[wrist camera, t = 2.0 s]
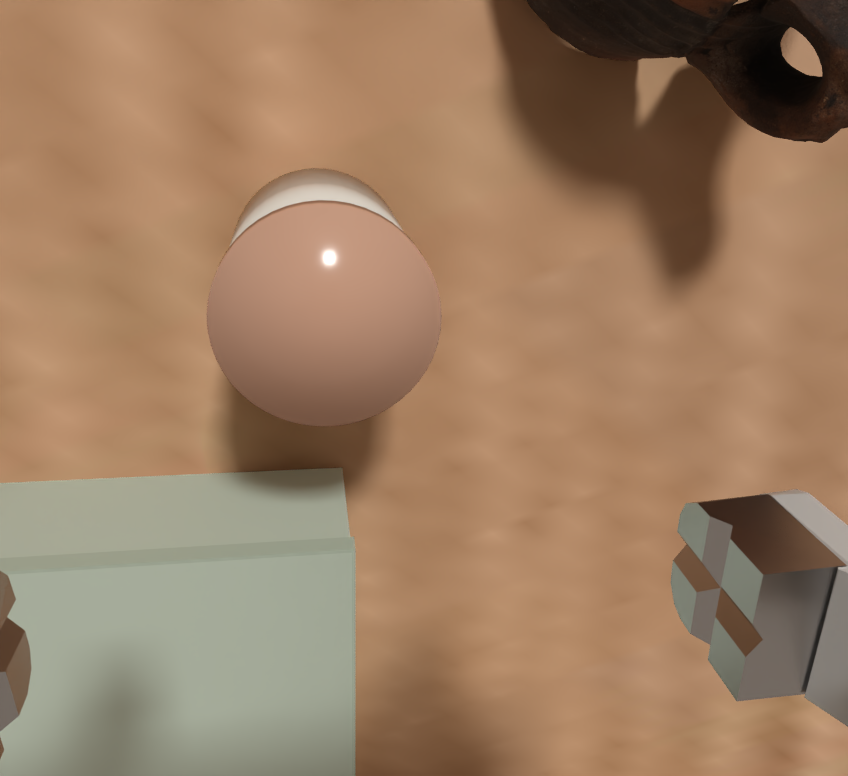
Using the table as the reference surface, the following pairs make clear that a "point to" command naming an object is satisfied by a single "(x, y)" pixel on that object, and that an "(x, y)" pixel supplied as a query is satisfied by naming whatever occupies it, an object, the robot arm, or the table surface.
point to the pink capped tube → (322, 302)
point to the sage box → (183, 625)
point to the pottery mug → (727, 52)
